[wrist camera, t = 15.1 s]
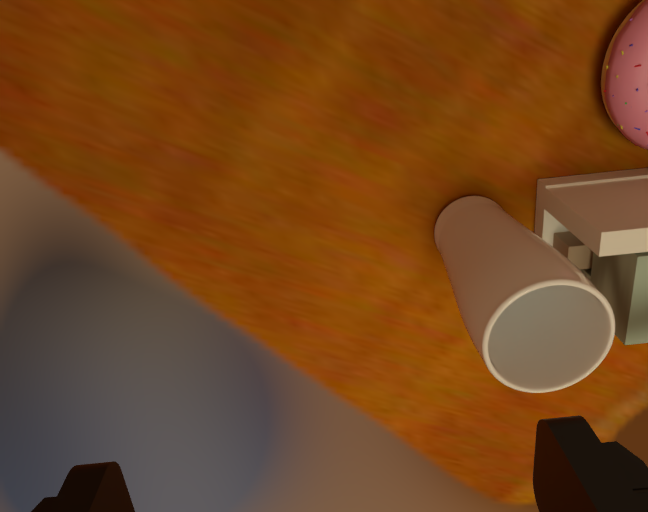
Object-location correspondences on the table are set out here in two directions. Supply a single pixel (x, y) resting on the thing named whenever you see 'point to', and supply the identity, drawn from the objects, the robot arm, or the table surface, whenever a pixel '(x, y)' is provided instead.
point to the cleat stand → (594, 214)
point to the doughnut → (628, 76)
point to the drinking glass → (522, 299)
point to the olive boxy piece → (624, 292)
